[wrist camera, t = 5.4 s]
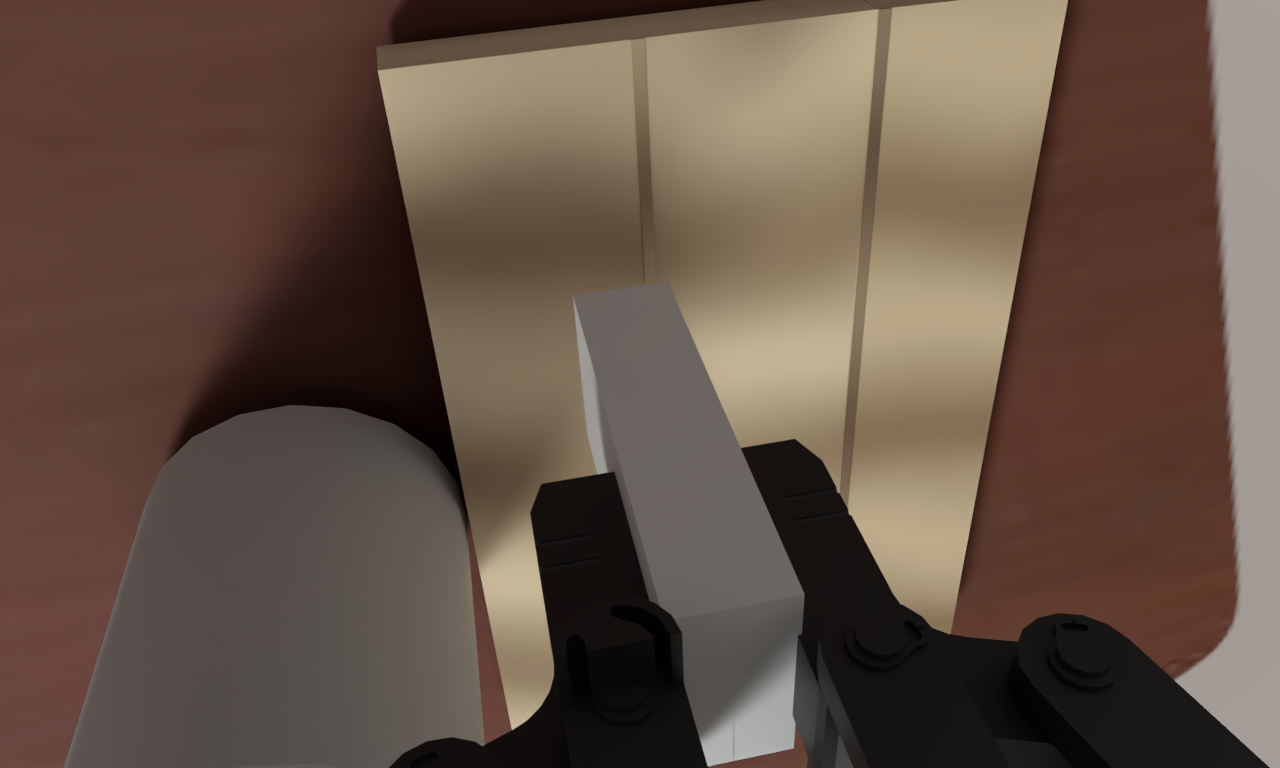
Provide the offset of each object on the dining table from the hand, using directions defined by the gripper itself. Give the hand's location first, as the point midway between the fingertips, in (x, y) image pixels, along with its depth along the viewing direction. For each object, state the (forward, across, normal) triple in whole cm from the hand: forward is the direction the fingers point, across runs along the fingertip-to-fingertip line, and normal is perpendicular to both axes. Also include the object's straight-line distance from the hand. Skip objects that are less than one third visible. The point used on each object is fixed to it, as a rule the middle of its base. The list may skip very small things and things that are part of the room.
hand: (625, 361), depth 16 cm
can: (+7, -7, -8) cm, 13 cm away
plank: (+7, +1, -7) cm, 10 cm away
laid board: (+7, +8, -7) cm, 13 cm away
